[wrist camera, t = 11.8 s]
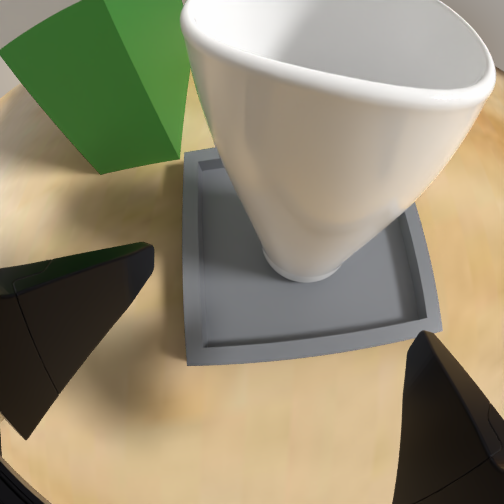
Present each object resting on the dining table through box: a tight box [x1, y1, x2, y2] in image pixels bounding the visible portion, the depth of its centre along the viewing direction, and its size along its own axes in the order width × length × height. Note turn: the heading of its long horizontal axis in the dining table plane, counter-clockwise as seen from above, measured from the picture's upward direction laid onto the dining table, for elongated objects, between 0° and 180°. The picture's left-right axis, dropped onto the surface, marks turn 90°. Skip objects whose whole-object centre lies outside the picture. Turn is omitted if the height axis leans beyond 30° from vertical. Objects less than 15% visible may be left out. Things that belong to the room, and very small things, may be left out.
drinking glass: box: [180, 0, 496, 283], centre depth 11 cm, size 7×7×15 cm
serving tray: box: [182, 148, 443, 366], centre depth 18 cm, size 15×14×2 cm
